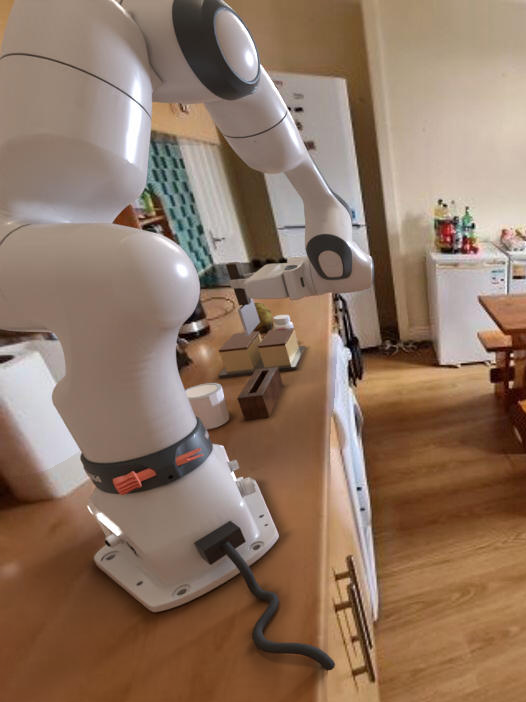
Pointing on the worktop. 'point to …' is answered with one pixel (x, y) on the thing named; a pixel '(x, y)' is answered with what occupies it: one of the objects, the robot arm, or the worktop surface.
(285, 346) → the cake
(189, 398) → the white cylinder
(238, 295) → the knife
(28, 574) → the worktop surface
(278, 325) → the pill bottle
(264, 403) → the knife block
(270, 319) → the kiwi fruit
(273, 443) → the worktop surface
